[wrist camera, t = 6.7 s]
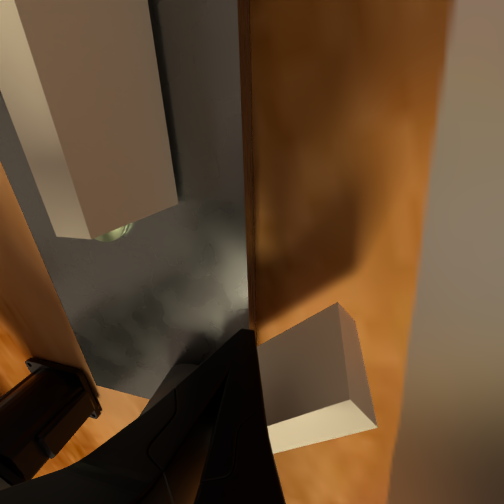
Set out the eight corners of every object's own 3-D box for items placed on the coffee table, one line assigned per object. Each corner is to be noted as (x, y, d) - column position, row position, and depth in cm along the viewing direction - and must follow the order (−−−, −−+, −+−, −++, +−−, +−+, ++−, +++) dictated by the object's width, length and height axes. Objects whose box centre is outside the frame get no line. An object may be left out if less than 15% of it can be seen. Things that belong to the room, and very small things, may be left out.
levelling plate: (111, 369, 20) (91, 390, 18) (-104, -203, 8) (-216, -295, 7) (257, 404, 17) (250, 434, 15) (240, -419, 5) (202, -698, 4)
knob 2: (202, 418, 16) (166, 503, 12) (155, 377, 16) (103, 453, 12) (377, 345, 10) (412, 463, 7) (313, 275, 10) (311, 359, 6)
